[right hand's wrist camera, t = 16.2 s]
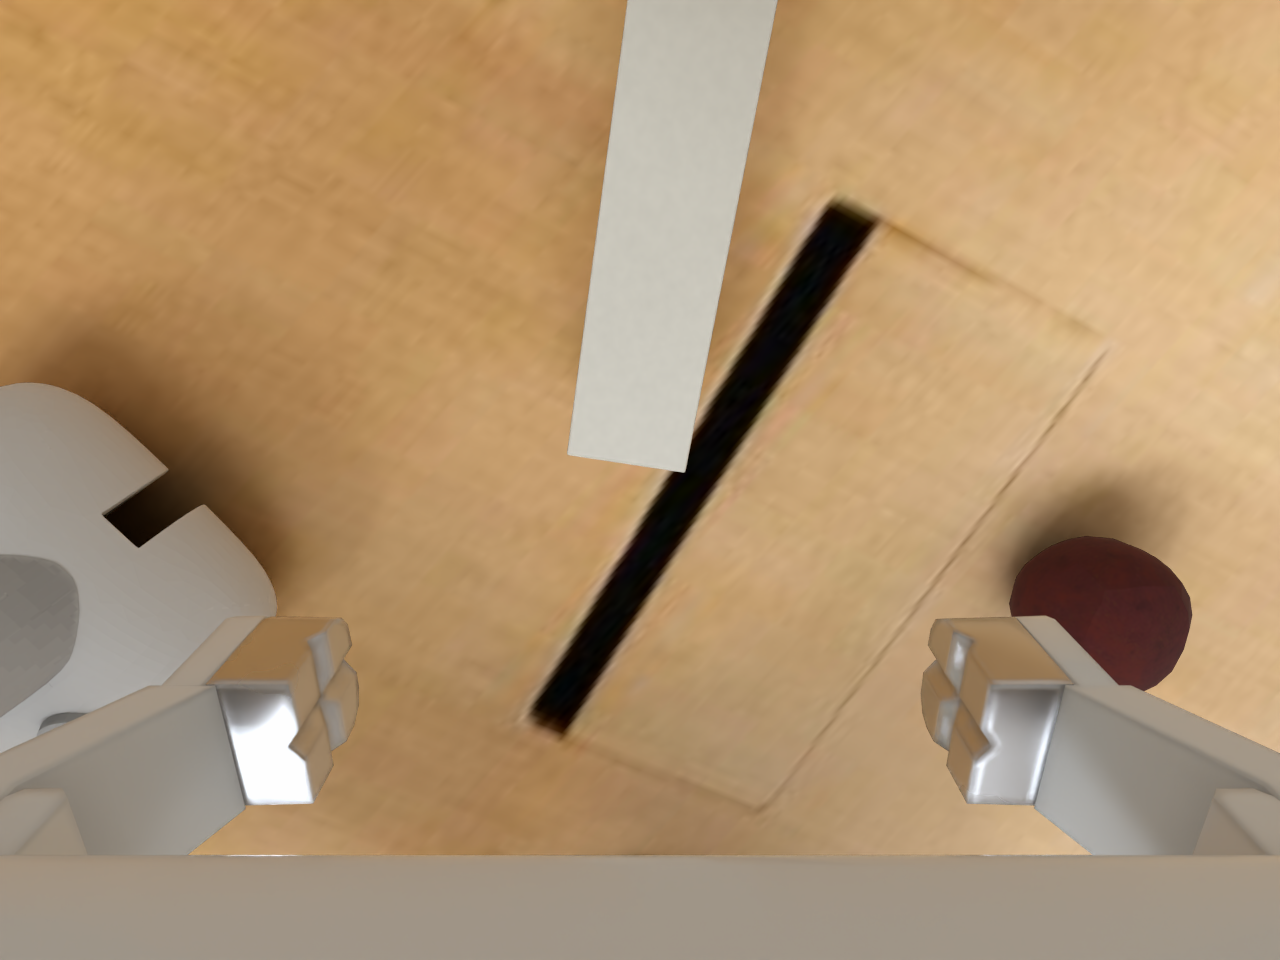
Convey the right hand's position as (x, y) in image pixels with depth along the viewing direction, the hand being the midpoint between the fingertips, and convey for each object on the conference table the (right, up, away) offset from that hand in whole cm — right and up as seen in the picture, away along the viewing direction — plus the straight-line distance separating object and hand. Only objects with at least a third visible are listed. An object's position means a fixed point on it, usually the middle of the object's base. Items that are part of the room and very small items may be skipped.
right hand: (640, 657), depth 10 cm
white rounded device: (-30, -3, +29) cm, 42 cm away
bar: (+2, +18, +21) cm, 28 cm away
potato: (+22, -3, +29) cm, 37 cm away
